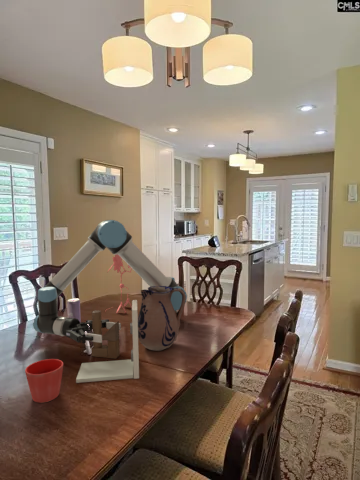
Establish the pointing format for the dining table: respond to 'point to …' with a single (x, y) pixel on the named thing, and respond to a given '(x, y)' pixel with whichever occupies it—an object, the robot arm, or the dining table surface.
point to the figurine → (117, 266)
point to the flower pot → (44, 379)
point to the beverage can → (73, 308)
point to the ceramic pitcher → (159, 317)
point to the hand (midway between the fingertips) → (111, 332)
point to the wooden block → (105, 338)
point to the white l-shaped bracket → (114, 368)
